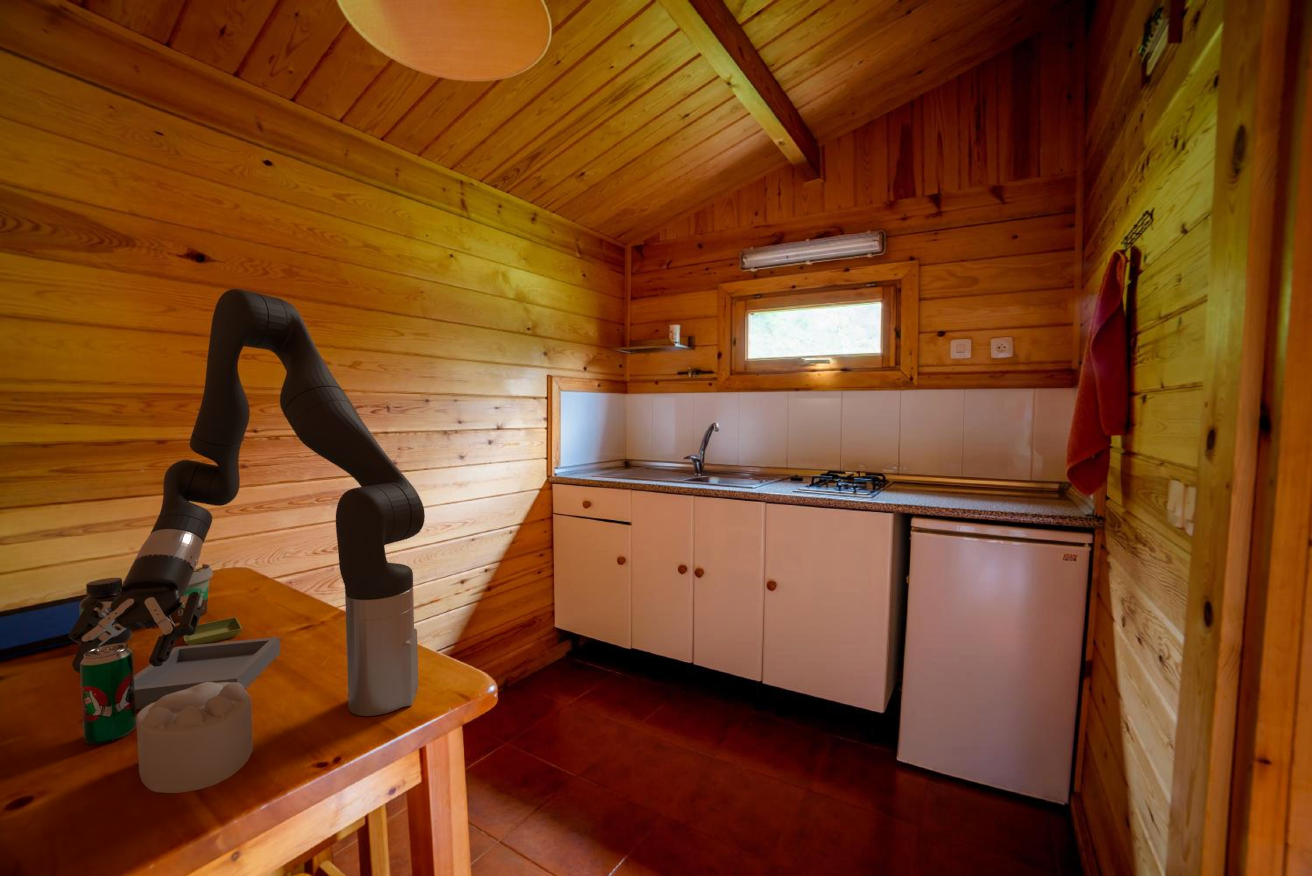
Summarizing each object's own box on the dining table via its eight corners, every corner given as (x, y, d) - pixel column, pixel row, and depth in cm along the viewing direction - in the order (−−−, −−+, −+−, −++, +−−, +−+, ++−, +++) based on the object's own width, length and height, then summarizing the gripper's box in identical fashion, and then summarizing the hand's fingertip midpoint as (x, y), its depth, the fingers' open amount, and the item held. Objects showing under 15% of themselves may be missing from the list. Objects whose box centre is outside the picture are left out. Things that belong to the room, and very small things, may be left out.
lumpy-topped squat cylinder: (231, 726, 76) (228, 666, 76) (269, 760, 69) (266, 693, 68) (130, 766, 68) (127, 698, 67) (161, 809, 60) (158, 734, 60)
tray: (280, 652, 99) (279, 636, 99) (237, 697, 84) (237, 678, 84) (176, 663, 95) (175, 646, 95) (111, 712, 80) (110, 692, 80)
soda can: (133, 720, 78) (129, 638, 77) (139, 734, 74) (135, 648, 74) (82, 737, 74) (77, 651, 73) (86, 751, 70) (81, 661, 70)
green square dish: (236, 626, 113) (236, 616, 113) (243, 638, 107) (242, 628, 107) (181, 638, 107) (181, 628, 107) (184, 652, 101) (184, 641, 100)
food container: (170, 630, 110) (167, 581, 109) (146, 627, 111) (144, 579, 111) (229, 608, 122) (227, 564, 122) (206, 606, 123) (205, 563, 123)
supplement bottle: (84, 653, 99) (81, 589, 99) (79, 644, 103) (75, 582, 103) (135, 641, 105) (132, 580, 104) (128, 632, 109) (125, 573, 108)
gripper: (97, 555, 82) (36, 664, 71) (208, 549, 85) (166, 652, 75) (123, 579, 87) (70, 684, 76) (226, 573, 91) (190, 671, 80)
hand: (118, 668), depth 76 cm, fingers open, 8 cm apart
